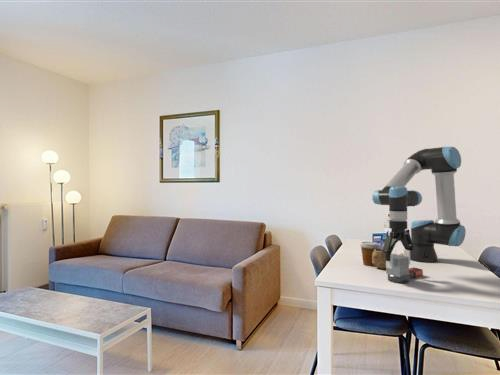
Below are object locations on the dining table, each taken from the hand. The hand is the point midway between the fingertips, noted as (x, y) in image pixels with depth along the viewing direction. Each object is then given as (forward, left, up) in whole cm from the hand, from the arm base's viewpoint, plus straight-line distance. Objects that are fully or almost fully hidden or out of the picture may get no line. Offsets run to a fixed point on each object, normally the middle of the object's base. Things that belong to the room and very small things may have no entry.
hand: (398, 266), depth 139 cm
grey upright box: (+1, 0, -4) cm, 4 cm away
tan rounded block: (-13, -14, -7) cm, 20 cm away
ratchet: (-6, 0, -7) cm, 9 cm away
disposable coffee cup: (-12, -25, -7) cm, 29 cm away
